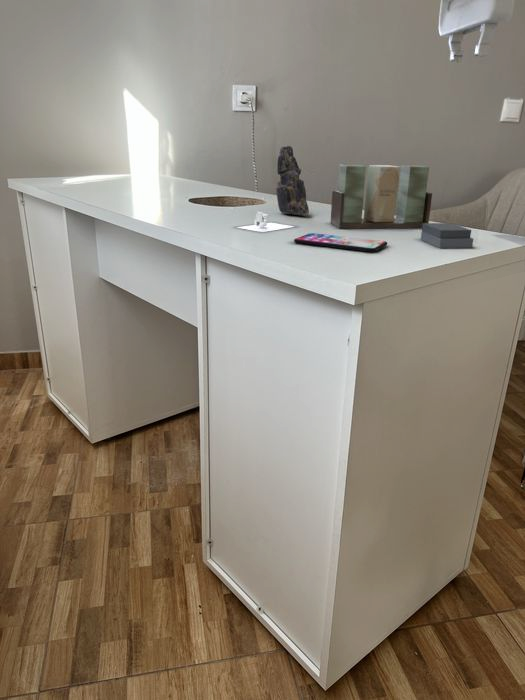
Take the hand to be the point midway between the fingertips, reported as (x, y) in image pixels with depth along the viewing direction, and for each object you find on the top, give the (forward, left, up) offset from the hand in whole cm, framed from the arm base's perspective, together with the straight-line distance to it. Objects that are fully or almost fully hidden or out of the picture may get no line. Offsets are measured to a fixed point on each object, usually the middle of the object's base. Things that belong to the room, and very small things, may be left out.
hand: (467, 59), depth 100 cm
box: (+11, -8, -30) cm, 33 cm away
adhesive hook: (+35, -7, -31) cm, 47 cm away
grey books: (+6, +12, -31) cm, 34 cm away
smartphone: (+25, +12, -31) cm, 41 cm away
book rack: (+11, -8, -31) cm, 34 cm away
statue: (+26, -25, -31) cm, 48 cm away
